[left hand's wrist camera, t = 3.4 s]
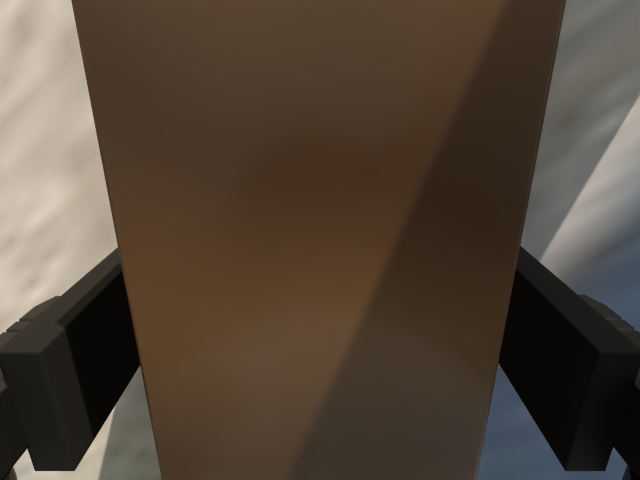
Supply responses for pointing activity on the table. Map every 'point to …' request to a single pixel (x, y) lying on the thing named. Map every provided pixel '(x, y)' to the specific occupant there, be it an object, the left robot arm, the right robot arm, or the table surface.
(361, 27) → the board
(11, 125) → the table surface
